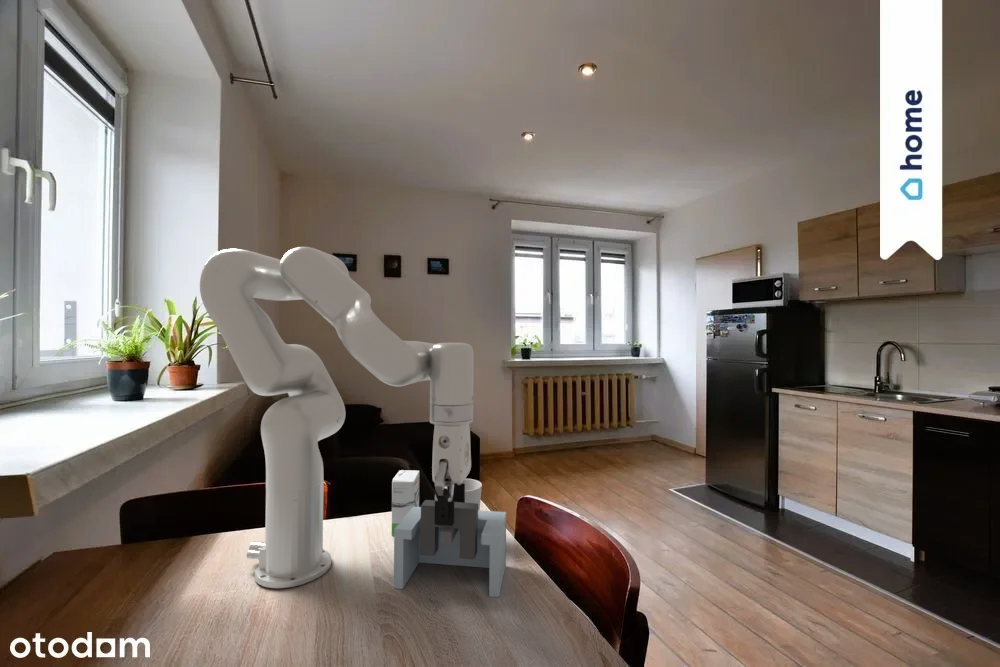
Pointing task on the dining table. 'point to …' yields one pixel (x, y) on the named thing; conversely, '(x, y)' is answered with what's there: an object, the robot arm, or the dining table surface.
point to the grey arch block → (462, 520)
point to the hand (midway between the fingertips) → (450, 513)
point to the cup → (472, 491)
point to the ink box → (404, 495)
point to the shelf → (452, 548)
